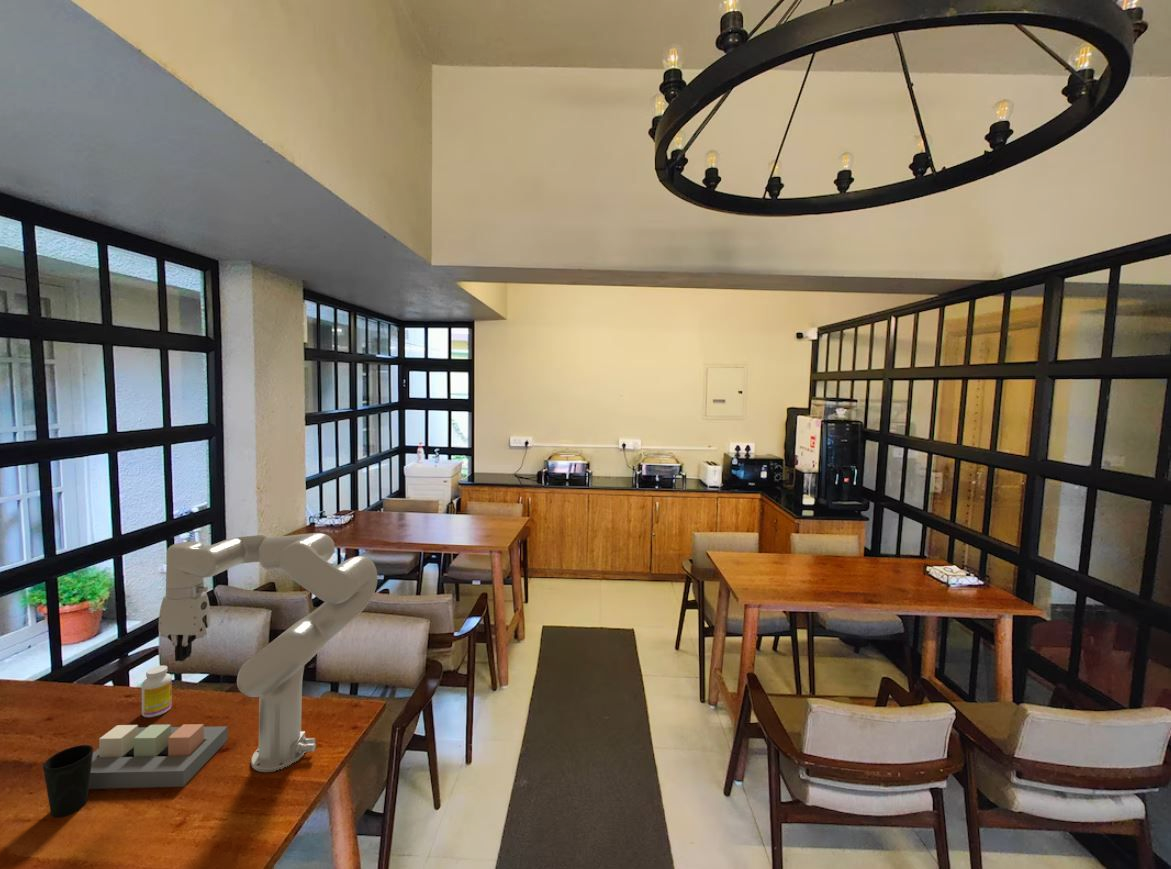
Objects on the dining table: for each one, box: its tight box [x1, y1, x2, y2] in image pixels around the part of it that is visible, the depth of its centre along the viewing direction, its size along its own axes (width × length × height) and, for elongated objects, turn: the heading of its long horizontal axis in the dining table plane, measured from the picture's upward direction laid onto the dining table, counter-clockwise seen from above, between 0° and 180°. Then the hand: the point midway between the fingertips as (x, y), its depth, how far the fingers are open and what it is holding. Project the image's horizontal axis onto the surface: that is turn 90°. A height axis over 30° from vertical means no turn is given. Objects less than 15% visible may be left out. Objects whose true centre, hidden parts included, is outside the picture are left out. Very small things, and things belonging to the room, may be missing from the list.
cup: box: [42, 744, 94, 819], centre depth 107 cm, size 8×8×12 cm
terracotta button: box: [167, 723, 205, 756], centre depth 121 cm, size 5×5×5 cm
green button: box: [133, 724, 172, 757], centre depth 121 cm, size 5×5×5 cm
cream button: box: [98, 724, 139, 757], centre depth 120 cm, size 5×5×5 cm
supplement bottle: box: [141, 665, 173, 718], centre depth 140 cm, size 7×7×13 cm
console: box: [88, 725, 229, 790], centre depth 121 cm, size 26×16×4 cm, turn 95°
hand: (183, 658), depth 124 cm, fingers closed
